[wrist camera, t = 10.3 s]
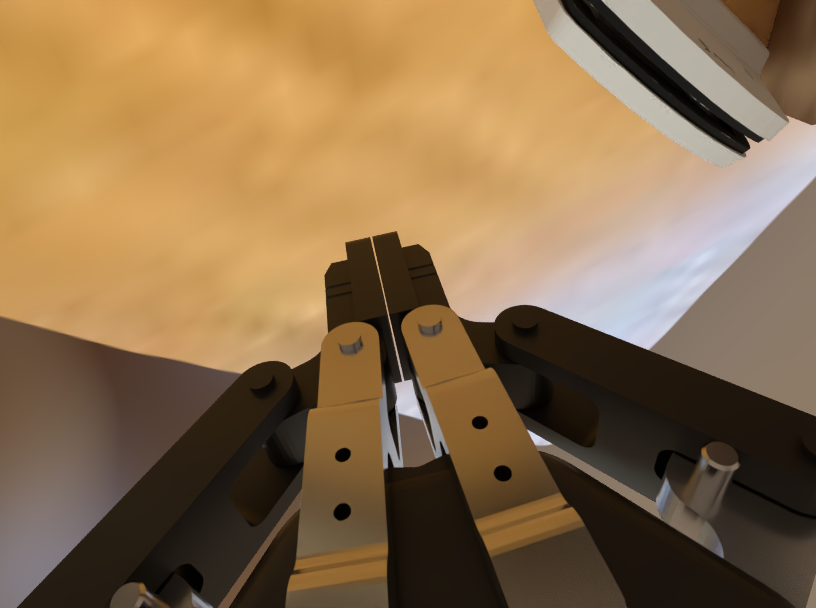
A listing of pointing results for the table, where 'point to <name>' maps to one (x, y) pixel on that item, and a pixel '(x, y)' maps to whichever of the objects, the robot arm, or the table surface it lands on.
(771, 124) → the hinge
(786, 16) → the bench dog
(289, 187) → the table surface
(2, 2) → the table surface
